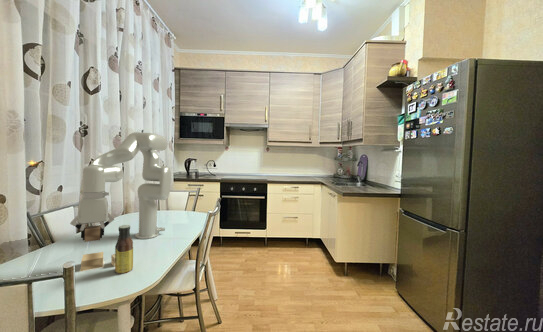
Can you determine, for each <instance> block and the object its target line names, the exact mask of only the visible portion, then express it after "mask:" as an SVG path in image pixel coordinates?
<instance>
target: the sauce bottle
mask: <svg viewBox="0 0 543 332" xmlns="http://www.w3.org/2000/svg"><path fill="white" fill-rule="evenodd" d="M130 231H131V225H130V224H122V225H119V226H118V238H117V242H116V243H115V246H114V247H115V248H114V250H115V251H114V254H115V267H114V272H115V274H118V275H122V274H123V275H125V274H127V273H130V272H131V271H133V268H134V242H133V239H132V237H131V233H130Z"/></svg>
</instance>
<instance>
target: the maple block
mask: <svg viewBox="0 0 543 332" xmlns="http://www.w3.org/2000/svg"><path fill="white" fill-rule="evenodd" d="M110 258H111V262H110V263H111V265H112V267H114V268H115V253H114V254H111V256H110Z"/></svg>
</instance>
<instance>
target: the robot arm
mask: <svg viewBox="0 0 543 332" xmlns="http://www.w3.org/2000/svg"><path fill="white" fill-rule="evenodd" d="M168 144H169V143H168V140H167V138H166V137H164V136H163V135H159V134H155V133H151V132H138V131H137V132H136V131H135V132H132V133H131V132H130V134H128V135H127V136H126V137H125V139H123V141H122V142H121V143H120V144H119V145H118V146H117V147H116V148H114V149H112V150H109V151H107V152H105V153H103V154H100V155H99V156H97V157H96V158H95V159H94V160H93V161H92V162H91V163H90V164H89V165H88V166H85V167H83V169H82V194H81V195H82V197H81V198H80V199H79V203H78V209H77V215H76V216H75V217H74V218H73V219H72V220H71V221H70V223H69V224H70V225H72V226H73V227H75V228H77V229H78V230H79V231H80V238H81V239H82V241H85V228H86V225H87V224H95V223H99V225H101V228H100V239H102V238H103V236H105V228H106V227H107V226H108V225H109V224H111V223H112V222H113V221H114V220H115V218H114V217H113V216H112V215H111V214H110V213H109V203H108V198H107V197H108V196H109V195H110V193H109V192H106V183H117V182H119V181H121V180H122V178H123V177H124V171H123V169H122V168H121V167H120V166H118V164H122V163H125V162H129V161H132V160H133V159H134V158H135V157H136V155H137V154H138V153H139V152H141V153H142V156H143V163H142V173H141V174H142V175H141V176H142V179H143V181H146V183H145V182H144V183H142V184H140V185H139V186H138V188H137V197H138V207H139V208H138V232H137V233H135V235H134V236H135V238H136V239H139V240H146V239H152V238H156V237H158V236H159V235H160V232H165V231H166V228H165V227H158V226H157V225H158V223H157V221H158V220H157V219H158V217H157V216H158V215H157V214H158V204H157V202H156V201H155V200H157V201H165V200H167V199H168V198H169V196H170V192H171V183H172V182H171V180H172V171H171V169H170V168H169V167H168V166H167V165H166V166H164V165H160V156H159V154H158V151H160V152H161V151H165V150H166V149H167V147H168ZM147 181H148V183H147ZM149 182H150V183H149ZM151 182H157V183H151ZM158 182H159V183H158Z"/></svg>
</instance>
